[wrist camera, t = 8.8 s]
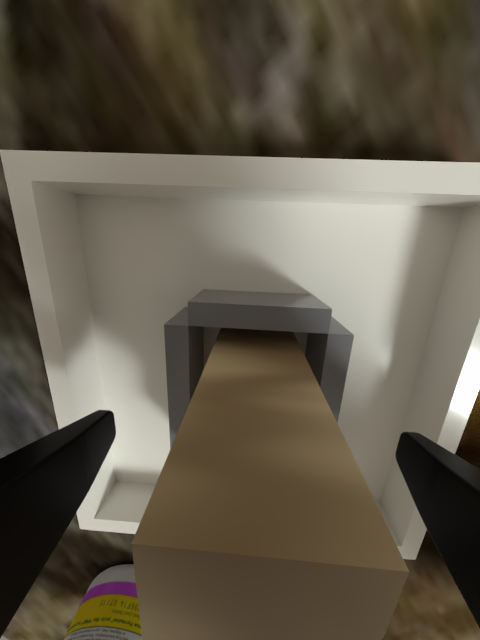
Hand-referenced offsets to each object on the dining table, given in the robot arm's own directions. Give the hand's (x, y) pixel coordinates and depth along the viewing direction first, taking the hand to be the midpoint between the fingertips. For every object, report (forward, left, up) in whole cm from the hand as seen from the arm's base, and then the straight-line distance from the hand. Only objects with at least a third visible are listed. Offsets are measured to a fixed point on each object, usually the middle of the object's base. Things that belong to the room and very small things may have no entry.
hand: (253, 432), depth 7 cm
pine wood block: (0, 0, -4) cm, 4 cm away
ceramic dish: (0, 0, -4) cm, 4 cm away
